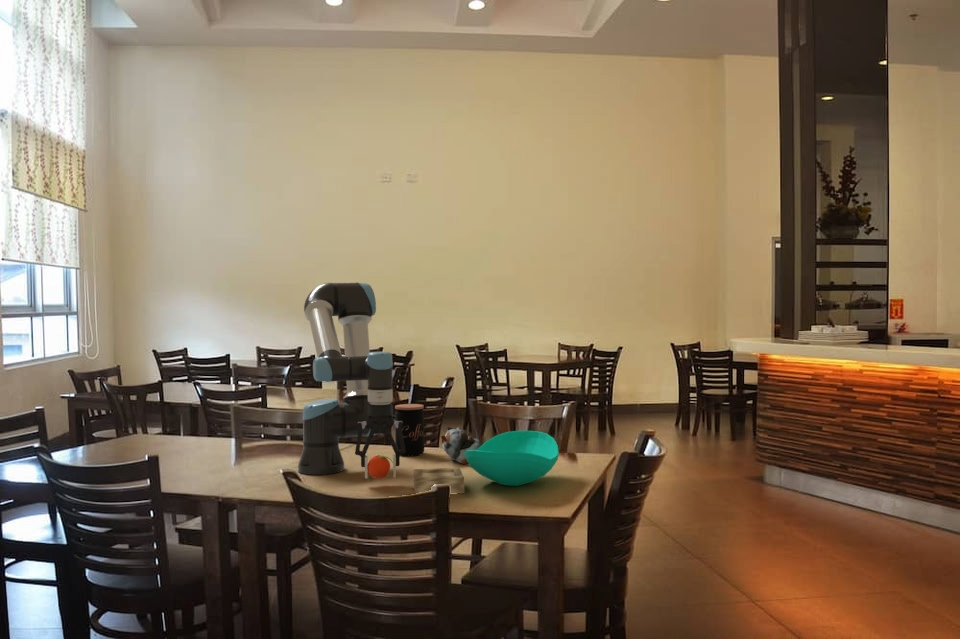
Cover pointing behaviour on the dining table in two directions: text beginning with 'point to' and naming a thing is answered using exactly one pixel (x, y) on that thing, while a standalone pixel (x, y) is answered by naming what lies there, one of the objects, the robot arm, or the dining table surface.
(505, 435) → the table top decor
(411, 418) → the coffee jar
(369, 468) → the clementine
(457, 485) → the tray
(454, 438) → the grey sculpted piece
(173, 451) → the dining table surface
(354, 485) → the dining table surface
